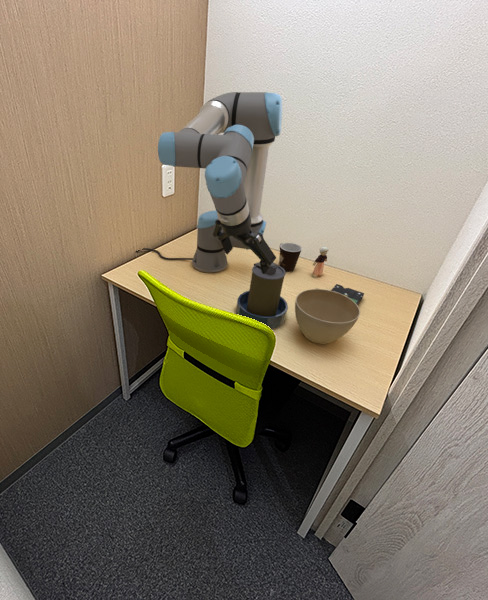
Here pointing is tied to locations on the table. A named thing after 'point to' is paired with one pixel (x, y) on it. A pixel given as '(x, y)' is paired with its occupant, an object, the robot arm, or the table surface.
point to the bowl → (269, 321)
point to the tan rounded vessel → (325, 314)
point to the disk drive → (349, 293)
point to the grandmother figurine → (320, 262)
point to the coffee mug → (289, 256)
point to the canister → (265, 290)
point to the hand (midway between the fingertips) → (247, 260)
